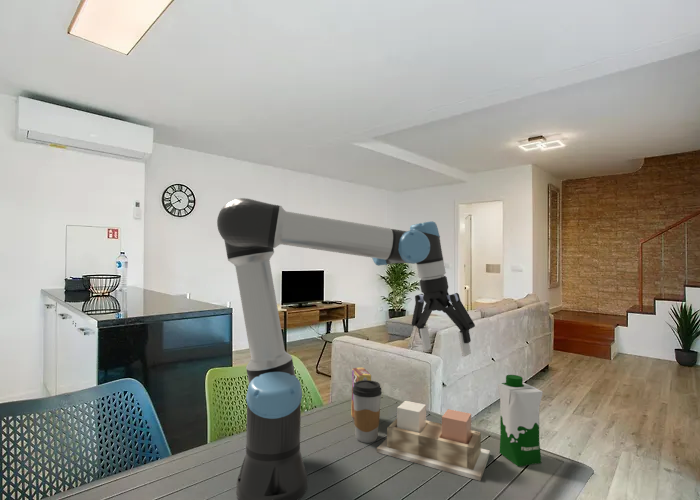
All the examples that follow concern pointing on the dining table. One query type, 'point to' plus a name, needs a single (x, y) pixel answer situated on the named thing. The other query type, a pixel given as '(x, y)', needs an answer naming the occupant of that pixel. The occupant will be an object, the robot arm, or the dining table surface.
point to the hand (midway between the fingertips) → (446, 352)
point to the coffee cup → (366, 410)
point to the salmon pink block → (456, 426)
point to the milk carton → (519, 421)
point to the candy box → (358, 375)
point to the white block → (411, 416)
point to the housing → (436, 450)
